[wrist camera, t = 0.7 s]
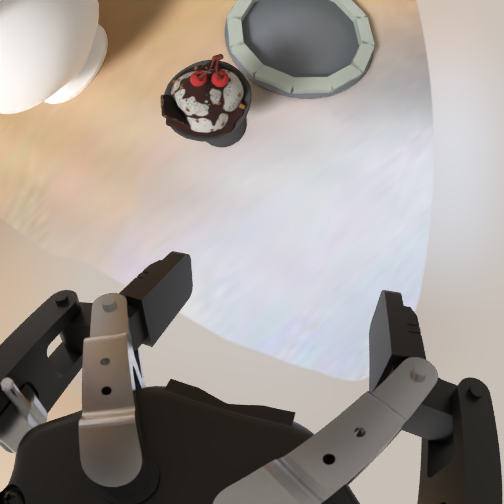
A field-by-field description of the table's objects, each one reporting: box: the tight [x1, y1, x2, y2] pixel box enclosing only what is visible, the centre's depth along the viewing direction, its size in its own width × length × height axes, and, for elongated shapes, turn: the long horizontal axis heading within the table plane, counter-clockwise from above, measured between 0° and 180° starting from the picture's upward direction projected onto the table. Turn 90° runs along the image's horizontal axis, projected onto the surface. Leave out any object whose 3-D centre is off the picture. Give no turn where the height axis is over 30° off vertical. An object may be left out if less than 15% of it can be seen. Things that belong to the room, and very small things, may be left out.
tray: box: [225, 0, 375, 99], centre depth 27 cm, size 17×17×2 cm
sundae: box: [161, 54, 251, 147], centre depth 23 cm, size 7×7×15 cm
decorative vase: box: [0, 0, 108, 114], centre depth 16 cm, size 18×18×25 cm
